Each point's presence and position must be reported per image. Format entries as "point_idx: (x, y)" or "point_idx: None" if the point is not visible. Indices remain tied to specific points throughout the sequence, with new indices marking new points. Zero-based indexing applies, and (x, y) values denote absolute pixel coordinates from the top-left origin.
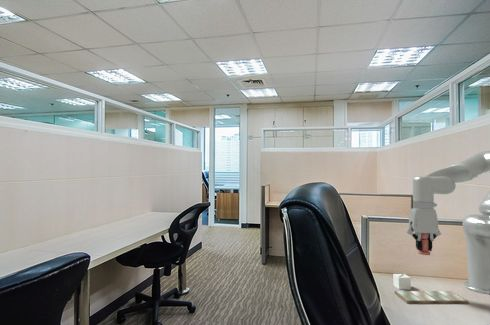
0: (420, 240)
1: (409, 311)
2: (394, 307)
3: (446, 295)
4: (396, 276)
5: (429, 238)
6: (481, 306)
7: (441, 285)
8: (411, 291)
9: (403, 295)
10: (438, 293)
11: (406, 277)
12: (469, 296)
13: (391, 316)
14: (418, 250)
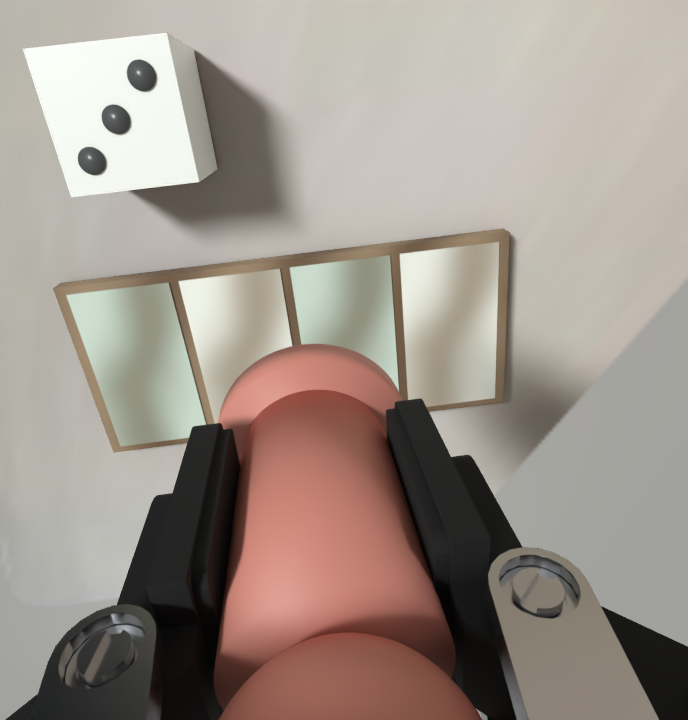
0: (213, 707)
1: (111, 523)
2: (35, 491)
3: (417, 334)
4: (55, 142)
5: (505, 697)
6: (547, 413)
7: (553, 7)
8: (188, 285)
9: (107, 372)
10: (380, 303)
11: (158, 179)
12: (599, 265)
13: (8, 582)
14: (234, 405)
